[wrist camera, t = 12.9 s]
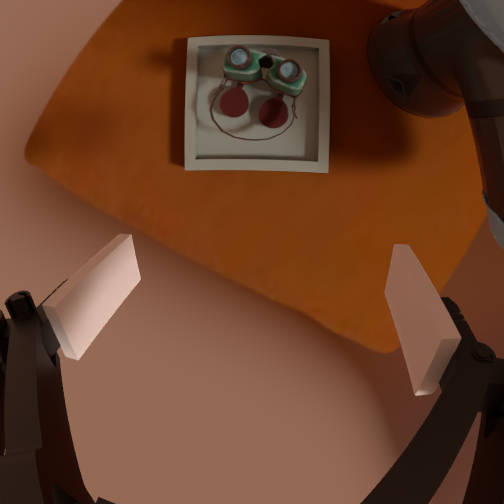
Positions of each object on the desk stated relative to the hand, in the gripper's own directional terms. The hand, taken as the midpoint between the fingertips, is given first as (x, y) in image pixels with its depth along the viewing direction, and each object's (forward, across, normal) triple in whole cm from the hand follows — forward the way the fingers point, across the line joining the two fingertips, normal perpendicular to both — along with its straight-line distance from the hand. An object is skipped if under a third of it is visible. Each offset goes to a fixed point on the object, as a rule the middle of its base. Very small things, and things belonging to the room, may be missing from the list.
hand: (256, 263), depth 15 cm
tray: (+24, -3, +8) cm, 26 cm away
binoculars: (+24, -3, +8) cm, 25 cm away
